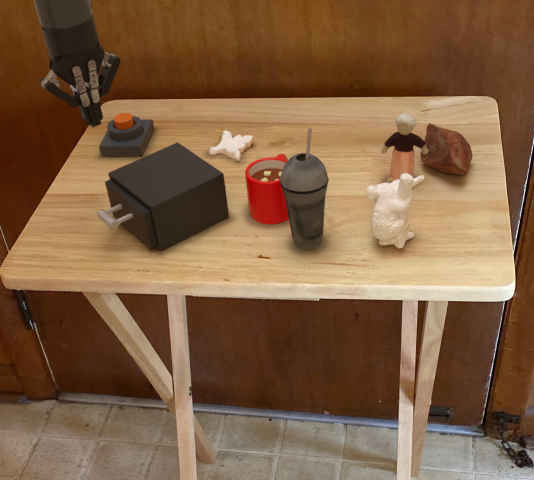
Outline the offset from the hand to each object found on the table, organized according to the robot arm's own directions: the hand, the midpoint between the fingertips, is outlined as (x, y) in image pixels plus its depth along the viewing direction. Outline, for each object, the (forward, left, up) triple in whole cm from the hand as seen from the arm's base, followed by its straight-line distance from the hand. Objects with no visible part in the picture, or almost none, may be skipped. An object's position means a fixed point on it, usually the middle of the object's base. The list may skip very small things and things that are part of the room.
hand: (94, 124), depth 126 cm
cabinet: (+7, -7, -18) cm, 20 cm away
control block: (+14, +20, -18) cm, 30 cm away
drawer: (+3, -7, -17) cm, 18 cm away
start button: (+14, +20, -14) cm, 28 cm away
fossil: (+50, -28, -18) cm, 60 cm away
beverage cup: (+19, -28, -18) cm, 38 cm away
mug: (+22, -16, -18) cm, 32 cm away
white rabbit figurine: (+29, -37, -18) cm, 50 cm away
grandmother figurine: (+42, -26, -18) cm, 52 cm away
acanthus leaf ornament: (+27, +4, -18) cm, 33 cm away
